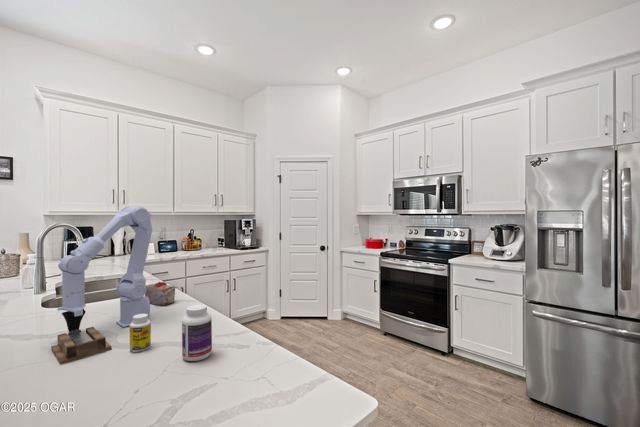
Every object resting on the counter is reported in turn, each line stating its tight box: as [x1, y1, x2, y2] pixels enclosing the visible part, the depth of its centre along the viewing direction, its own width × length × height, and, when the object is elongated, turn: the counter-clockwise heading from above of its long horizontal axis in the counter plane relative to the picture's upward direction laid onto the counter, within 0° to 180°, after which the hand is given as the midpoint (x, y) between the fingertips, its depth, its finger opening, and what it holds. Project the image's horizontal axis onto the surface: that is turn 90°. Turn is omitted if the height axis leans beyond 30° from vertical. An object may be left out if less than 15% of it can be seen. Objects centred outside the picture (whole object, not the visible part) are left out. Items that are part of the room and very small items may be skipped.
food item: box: [144, 281, 176, 306], centre depth 139 cm, size 14×8×10 cm, turn 69°
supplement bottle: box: [129, 314, 152, 353], centre depth 93 cm, size 6×6×10 cm
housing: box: [50, 326, 112, 365], centre depth 92 cm, size 14×12×4 cm
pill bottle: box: [181, 304, 213, 362], centre depth 88 cm, size 8×8×14 cm
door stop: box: [67, 328, 93, 345], centre depth 93 cm, size 15×4×4 cm, turn 50°
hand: (73, 333), depth 99 cm, fingers closed
